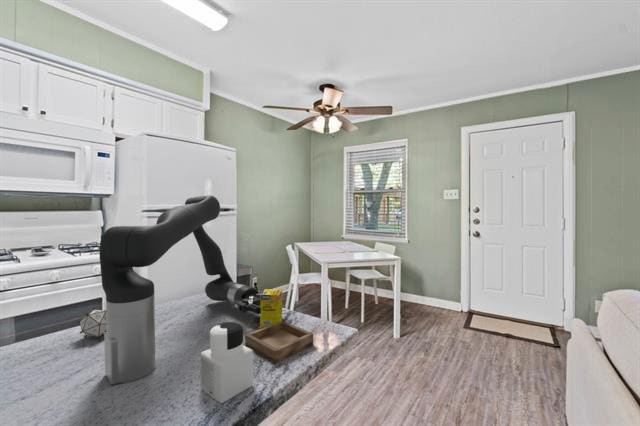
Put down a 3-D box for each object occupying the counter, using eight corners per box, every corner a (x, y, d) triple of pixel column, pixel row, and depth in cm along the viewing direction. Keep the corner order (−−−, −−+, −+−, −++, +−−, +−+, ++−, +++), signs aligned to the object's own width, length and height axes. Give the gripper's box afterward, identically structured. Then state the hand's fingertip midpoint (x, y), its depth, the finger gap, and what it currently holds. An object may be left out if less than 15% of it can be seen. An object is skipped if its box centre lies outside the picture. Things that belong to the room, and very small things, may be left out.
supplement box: (279, 330, 89) (279, 294, 88) (259, 330, 89) (259, 294, 89) (282, 322, 95) (282, 289, 94) (264, 322, 95) (264, 288, 94)
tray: (275, 363, 70) (275, 351, 70) (245, 345, 79) (245, 334, 79) (313, 344, 80) (313, 333, 80) (282, 330, 89) (282, 320, 89)
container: (232, 372, 67) (232, 315, 66) (253, 385, 62) (253, 324, 61) (200, 388, 61) (199, 326, 60) (221, 405, 56) (220, 337, 55)
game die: (92, 348, 86) (87, 315, 89) (123, 334, 88) (117, 303, 92) (71, 346, 78) (67, 310, 82) (106, 331, 80) (100, 297, 84)
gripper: (224, 290, 97) (251, 300, 86) (259, 281, 108) (288, 290, 97) (224, 312, 98) (252, 326, 86) (260, 302, 108) (288, 313, 97)
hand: (271, 307), depth 92 cm, fingers closed on supplement box, 8 cm apart
